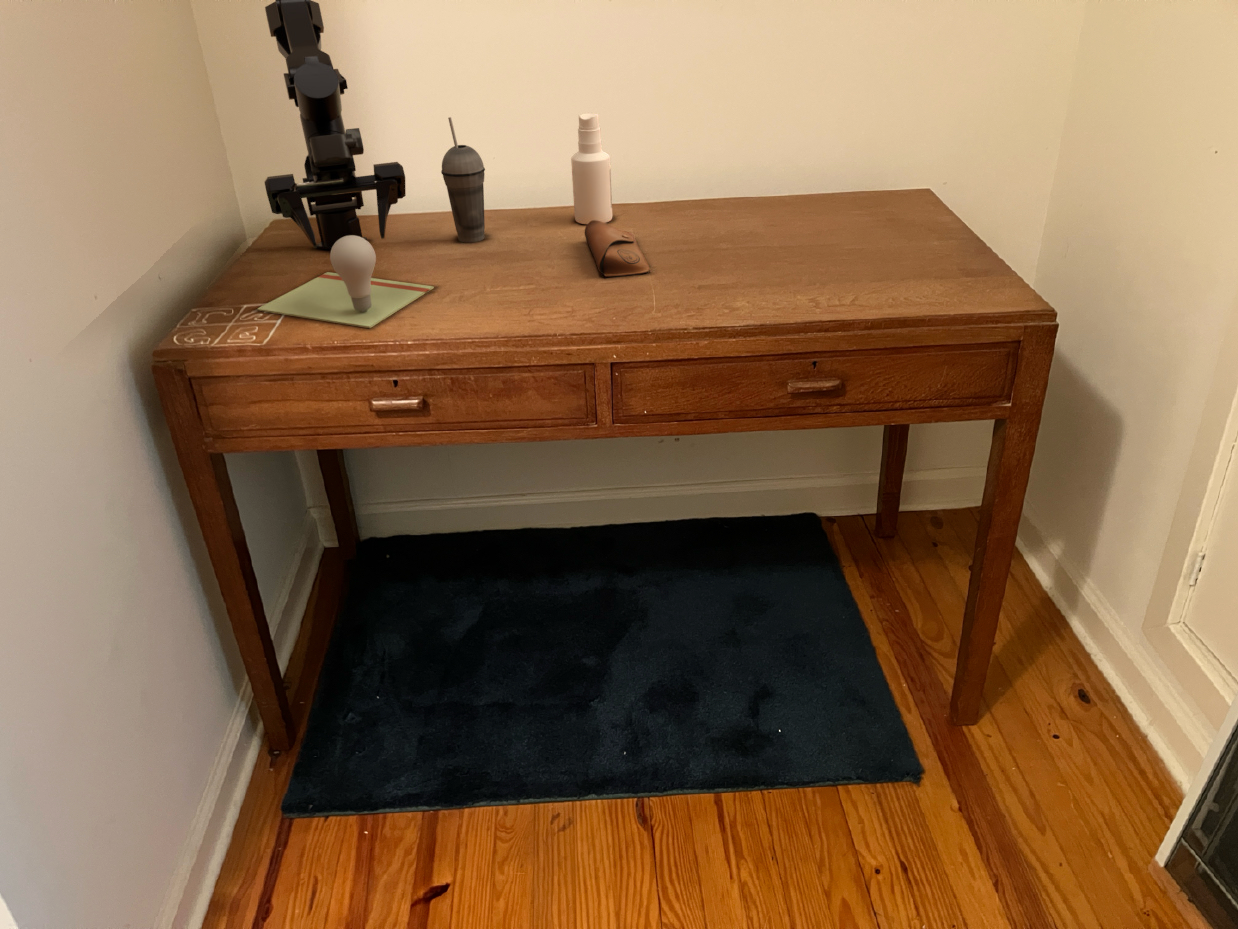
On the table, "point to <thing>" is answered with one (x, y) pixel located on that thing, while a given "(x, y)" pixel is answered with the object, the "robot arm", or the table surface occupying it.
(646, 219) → the table surface
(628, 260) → the sunglasses case
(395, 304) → the cloth
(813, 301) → the table surface
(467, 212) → the beverage cup
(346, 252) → the lightbulb
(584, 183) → the spray bottle
